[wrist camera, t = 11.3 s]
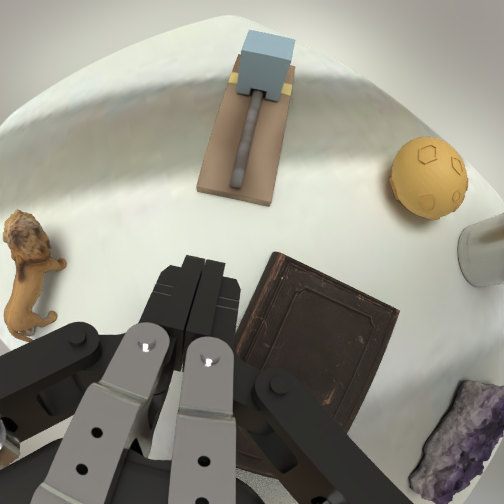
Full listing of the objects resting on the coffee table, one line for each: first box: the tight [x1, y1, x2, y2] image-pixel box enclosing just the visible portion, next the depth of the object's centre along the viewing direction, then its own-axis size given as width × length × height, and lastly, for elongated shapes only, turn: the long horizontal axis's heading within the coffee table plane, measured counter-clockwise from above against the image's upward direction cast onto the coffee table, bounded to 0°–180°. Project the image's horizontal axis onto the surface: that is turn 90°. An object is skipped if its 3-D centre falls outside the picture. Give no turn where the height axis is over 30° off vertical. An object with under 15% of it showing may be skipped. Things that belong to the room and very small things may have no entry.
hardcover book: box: [234, 252, 400, 479], centre depth 29 cm, size 16×23×2 cm
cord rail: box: [197, 54, 295, 206], centre depth 32 cm, size 8×21×5 cm, turn 169°
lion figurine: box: [3, 209, 66, 342], centre depth 24 cm, size 15×5×9 cm, turn 176°
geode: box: [409, 380, 504, 504], centre depth 26 cm, size 20×12×10 cm, turn 146°
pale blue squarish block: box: [236, 30, 295, 101], centre depth 30 cm, size 5×4×7 cm
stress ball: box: [389, 137, 468, 220], centre depth 31 cm, size 10×10×10 cm
